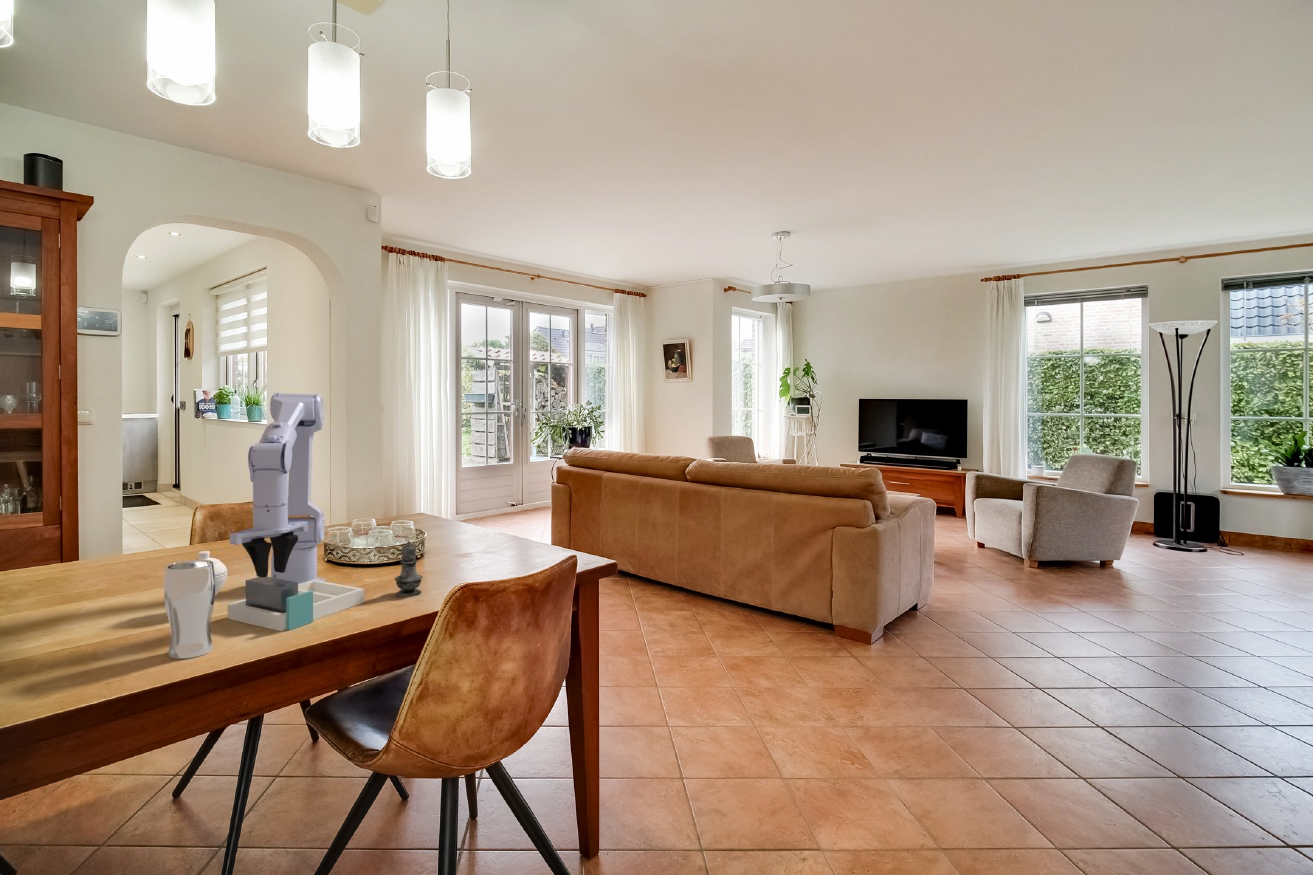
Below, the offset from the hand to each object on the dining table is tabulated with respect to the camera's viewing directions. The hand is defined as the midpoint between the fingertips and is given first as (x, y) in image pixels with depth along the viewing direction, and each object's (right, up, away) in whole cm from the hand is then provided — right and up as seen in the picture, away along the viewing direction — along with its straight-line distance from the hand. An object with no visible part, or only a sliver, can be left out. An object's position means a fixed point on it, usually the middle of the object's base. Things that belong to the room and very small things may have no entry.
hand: (271, 574), depth 122 cm
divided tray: (+2, -9, +6) cm, 11 cm away
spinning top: (-16, -8, +4) cm, 19 cm away
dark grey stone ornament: (+19, -9, +19) cm, 28 cm away
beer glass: (-4, -10, -16) cm, 19 cm away
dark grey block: (0, -8, 0) cm, 8 cm away
